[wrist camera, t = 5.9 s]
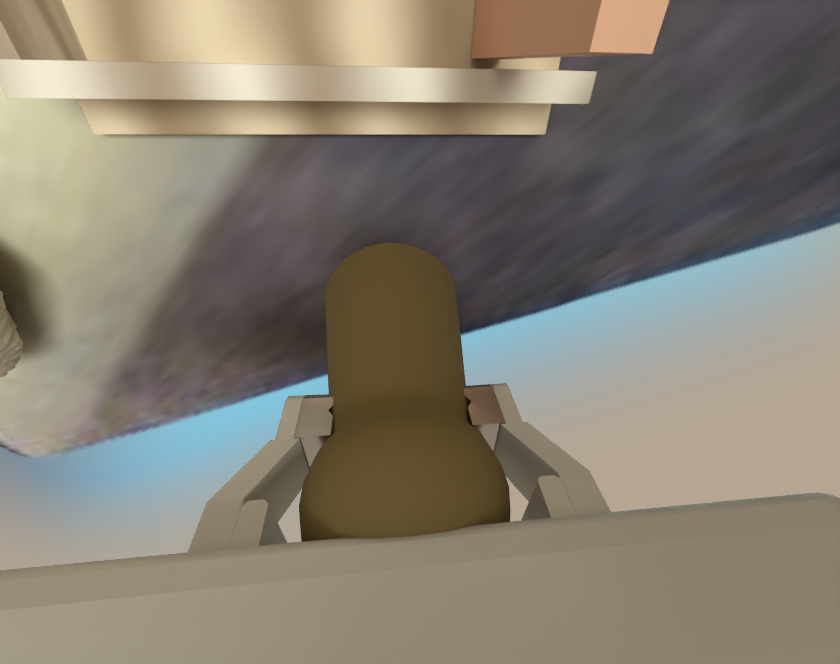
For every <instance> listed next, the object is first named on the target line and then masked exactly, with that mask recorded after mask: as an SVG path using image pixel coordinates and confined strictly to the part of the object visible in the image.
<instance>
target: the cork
mask: <svg viewBox="0 0 840 664" xmlns="http://www.w3.org/2000/svg"><path fill="white" fill-rule="evenodd" d="M325 310H326V335H327V360H328V383H329V384H328V385H329V395H330V394H331V395H332V397H333V408H332V411H331V414H332V416H333V430H332V436H331V437H329V438H328V439H327V440H326V441H325V442H324V443H323V444H322V446H321V448H320V449H319V451H318V453H317V455H316V456H315V458H314V460H313V462H312V464H311V466H310V469H309V471H308V473H307V475H306V478H305V480H304V482H303V488H302V493H301V498H300V504H299V512H300V526H301V539H302V542H304V541H314V540H325V539H335V538H394V537H409V536H418V535H425V534H433V533H441V532H446V531H452V530H456V529H460V528H464V527H469V526H474V525H482V524H493V523H503V522H510V499H509V486H508V483H507V480H506V477H505V474H504V471H503V468H502V465H501V463H500V462H499V460H498V458H497V457H496V455H495V454H494V452H493V450H492V449H491V447H490V446H489V444H488V443H487V441H486V439H485V438H484V436H483V435H482V433H481V432H480V431H479V430H477V429H476V428H474V427H473V426H471V425H470V424H469V418H468V412H467V409H468V405H467V401H466V399H465V396H464V387H465V386H466V385H465V375H464V365H463V357H462V345H461V336H460V326H459V316H458V306H457V296H456V286H455V283H454V281H453V279H452V277H451V275H450V273H449V271H448V269H447V267H446V266H445V265H444V264H443V263H441V262H440V261H439V260H438V259H437V258H436V257H435V256H434V255H433V254H431V253H429V252H427V251H425V250H422V249H420V248H418V247H416V246H414V245H408V244H400V243H392V242H388V243H383V244H377V245H372V246H367V247H365V248H363V249H361V250H359V251H357V252H355V253H353V254H351V255H350V256H348V257H346V259H345V260H344V261H343V262H342V263H341V264H340V265H339V266H338V267H337V268H336V269H335V270H334V271H333V273H332V275H331V278H330V280H329V283H328V285H327V287H326V301H325Z"/></svg>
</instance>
